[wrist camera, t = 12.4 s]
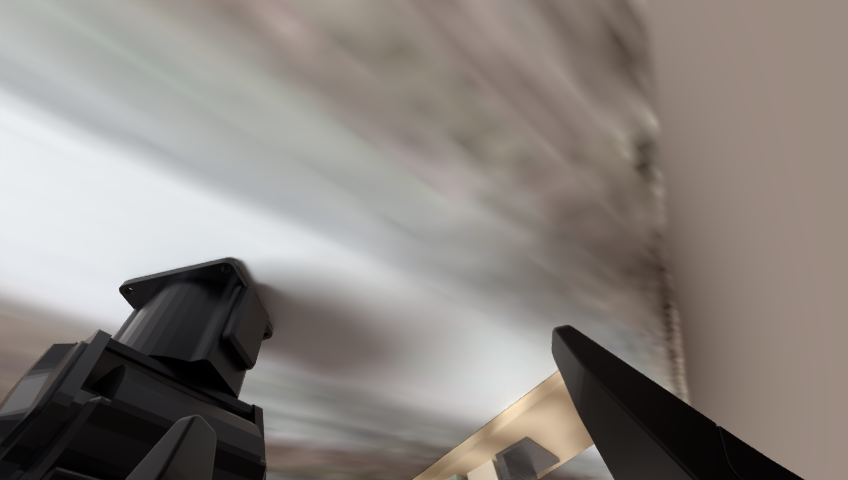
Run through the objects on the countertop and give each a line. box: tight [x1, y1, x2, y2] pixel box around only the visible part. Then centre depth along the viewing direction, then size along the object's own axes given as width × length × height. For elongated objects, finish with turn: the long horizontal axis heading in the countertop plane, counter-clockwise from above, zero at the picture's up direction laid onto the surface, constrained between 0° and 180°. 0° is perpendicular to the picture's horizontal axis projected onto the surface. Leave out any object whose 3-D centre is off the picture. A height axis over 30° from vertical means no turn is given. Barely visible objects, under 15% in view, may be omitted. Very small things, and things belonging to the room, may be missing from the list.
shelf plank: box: [413, 370, 594, 480], centre depth 38 cm, size 23×12×1 cm, turn 139°
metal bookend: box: [495, 436, 560, 480], centre depth 36 cm, size 7×4×3 cm, turn 40°
